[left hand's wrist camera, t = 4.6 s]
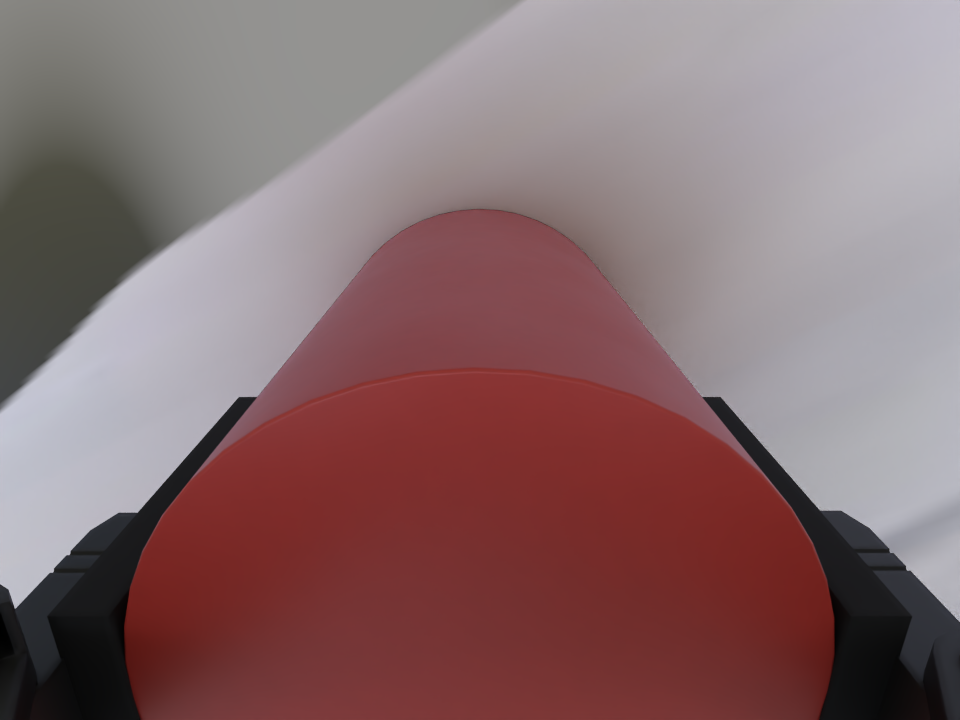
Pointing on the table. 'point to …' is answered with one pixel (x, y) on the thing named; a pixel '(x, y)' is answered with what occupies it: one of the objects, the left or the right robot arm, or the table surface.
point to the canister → (479, 518)
